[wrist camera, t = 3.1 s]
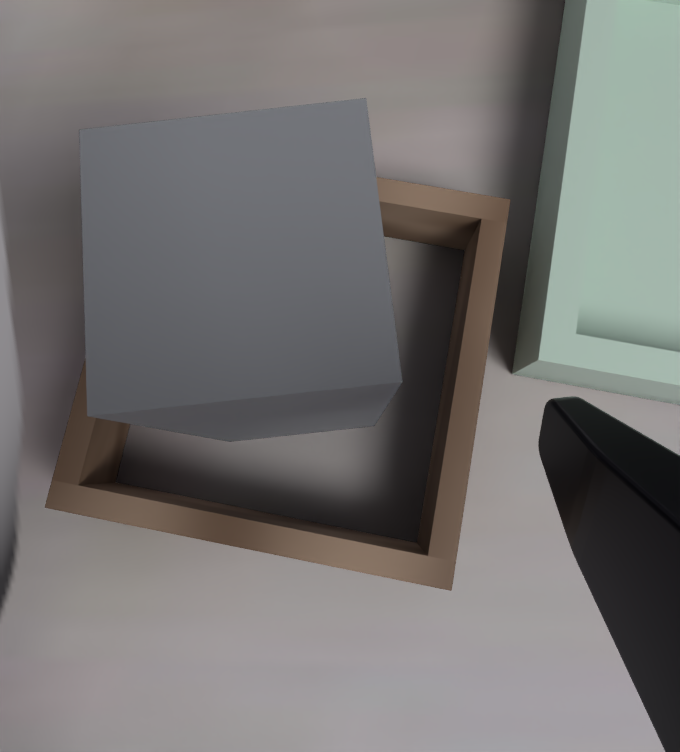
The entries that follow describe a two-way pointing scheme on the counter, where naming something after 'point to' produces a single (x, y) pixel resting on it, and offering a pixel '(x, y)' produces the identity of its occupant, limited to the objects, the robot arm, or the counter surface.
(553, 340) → the mint green tray
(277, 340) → the grey peg
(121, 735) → the counter surface
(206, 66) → the counter surface
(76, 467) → the walnut collar
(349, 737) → the counter surface
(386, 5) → the counter surface
